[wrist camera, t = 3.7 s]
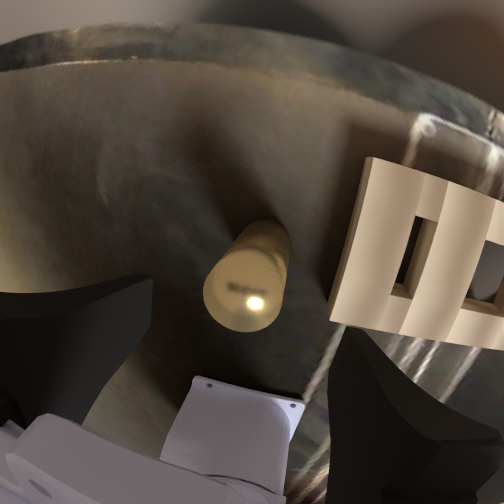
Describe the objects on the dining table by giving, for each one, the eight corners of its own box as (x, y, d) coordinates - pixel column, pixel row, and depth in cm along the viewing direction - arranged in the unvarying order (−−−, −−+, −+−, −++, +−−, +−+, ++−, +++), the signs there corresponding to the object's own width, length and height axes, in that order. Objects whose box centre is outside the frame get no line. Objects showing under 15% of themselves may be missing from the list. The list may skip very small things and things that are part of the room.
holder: (327, 302, 22) (329, 320, 19) (365, 156, 18) (373, 157, 16) (500, 335, 20) (513, 351, 18) (542, 222, 17) (561, 230, 15)
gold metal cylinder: (235, 263, 22) (198, 321, 14) (244, 214, 21) (208, 251, 13) (284, 274, 22) (272, 339, 14) (296, 226, 20) (290, 269, 13)
